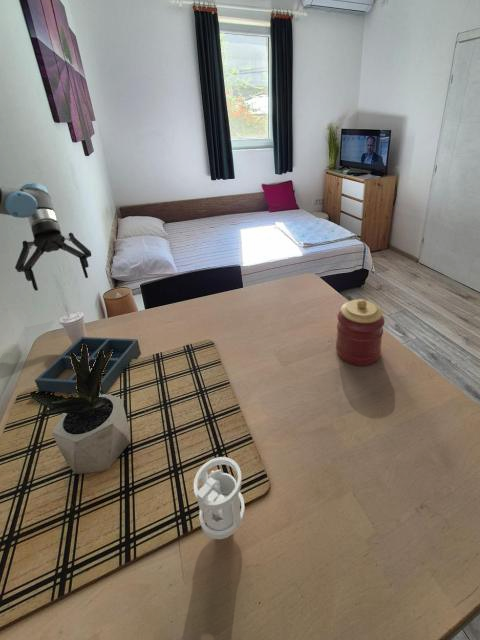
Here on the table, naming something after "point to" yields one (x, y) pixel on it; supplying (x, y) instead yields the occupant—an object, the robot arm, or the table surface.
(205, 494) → the white cylindrical holder
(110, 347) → the divided tray
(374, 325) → the kitchen canister
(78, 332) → the smoothie
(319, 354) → the table surface
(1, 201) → the robot arm
